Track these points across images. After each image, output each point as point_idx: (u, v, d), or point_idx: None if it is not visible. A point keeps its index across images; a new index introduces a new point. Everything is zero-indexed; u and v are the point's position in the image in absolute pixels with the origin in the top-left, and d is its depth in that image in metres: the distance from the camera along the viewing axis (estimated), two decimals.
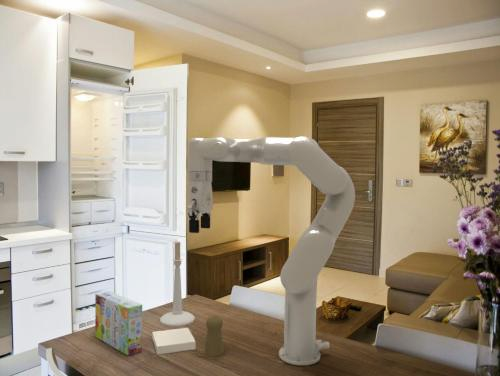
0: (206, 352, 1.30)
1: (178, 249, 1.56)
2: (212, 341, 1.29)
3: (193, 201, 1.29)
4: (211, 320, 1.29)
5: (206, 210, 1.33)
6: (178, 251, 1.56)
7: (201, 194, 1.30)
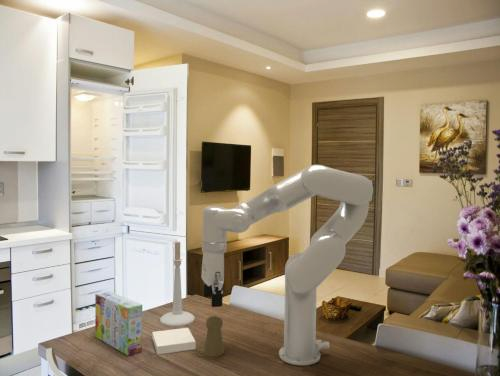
0: (206, 352, 1.30)
1: (178, 249, 1.56)
2: (212, 341, 1.29)
3: None
4: (211, 320, 1.29)
5: (203, 279, 1.31)
6: (178, 251, 1.56)
7: None
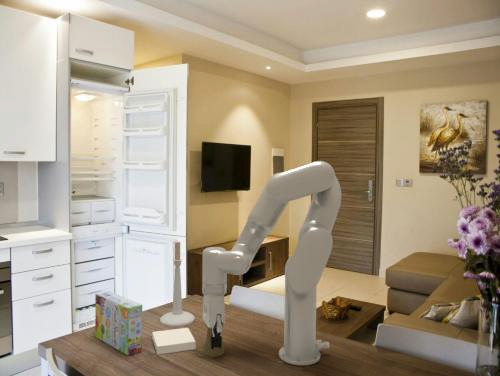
0: (206, 352, 1.29)
1: (178, 249, 1.56)
2: None
3: None
4: None
5: (204, 319, 1.31)
6: (178, 251, 1.56)
7: None
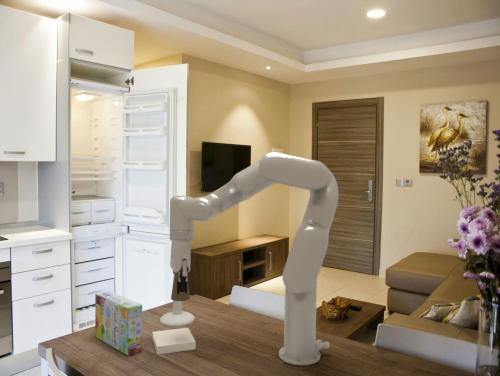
0: (172, 297, 1.33)
1: None
2: None
3: None
4: None
5: (171, 266, 1.35)
6: None
7: None
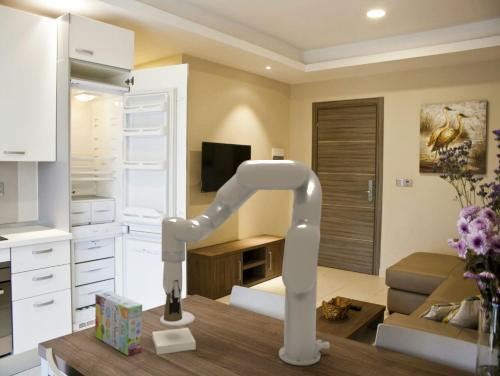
0: (165, 317, 1.35)
1: None
2: None
3: None
4: None
5: (163, 287, 1.37)
6: None
7: None
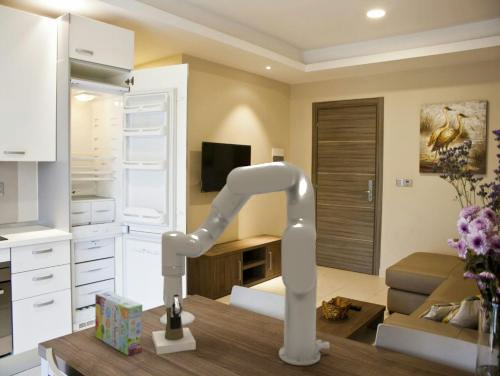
0: (166, 336, 1.35)
1: None
2: None
3: None
4: None
5: (164, 301, 1.37)
6: None
7: None
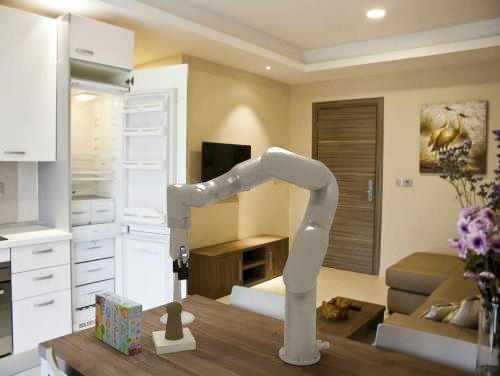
0: (166, 336, 1.35)
1: None
2: (171, 325, 1.34)
3: None
4: (171, 305, 1.35)
5: (170, 254, 1.35)
6: None
7: None
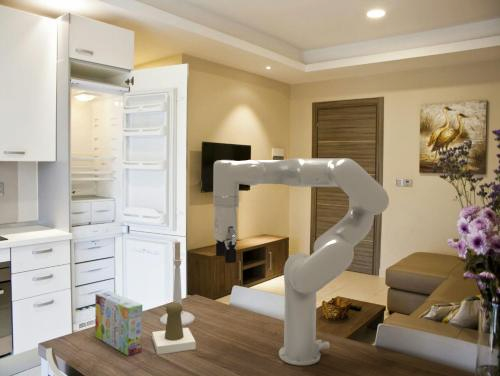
0: (166, 336, 1.35)
1: (178, 249, 1.56)
2: (171, 326, 1.34)
3: None
4: (170, 305, 1.35)
5: (215, 236, 1.26)
6: (178, 251, 1.56)
7: None
